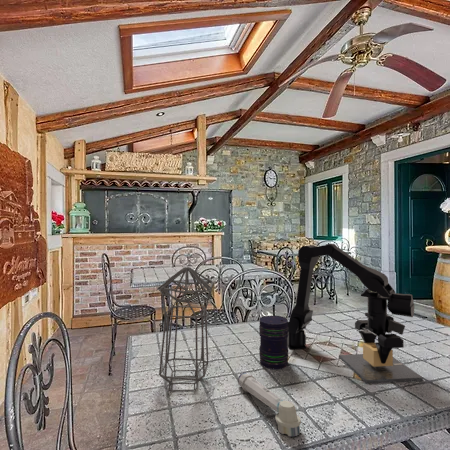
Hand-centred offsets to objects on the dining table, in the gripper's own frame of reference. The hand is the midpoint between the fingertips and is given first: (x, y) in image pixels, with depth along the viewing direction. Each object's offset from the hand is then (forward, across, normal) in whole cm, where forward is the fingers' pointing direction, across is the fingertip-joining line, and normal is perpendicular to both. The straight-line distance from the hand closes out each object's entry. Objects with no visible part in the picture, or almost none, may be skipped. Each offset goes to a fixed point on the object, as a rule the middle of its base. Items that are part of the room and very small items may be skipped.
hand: (377, 358), depth 102 cm
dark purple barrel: (+3, +7, +33) cm, 34 cm away
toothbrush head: (+4, -18, +41) cm, 45 cm away
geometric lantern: (+3, -4, +62) cm, 62 cm away
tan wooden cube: (+1, 0, 0) cm, 1 cm away
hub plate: (+3, 0, 0) cm, 3 cm away
